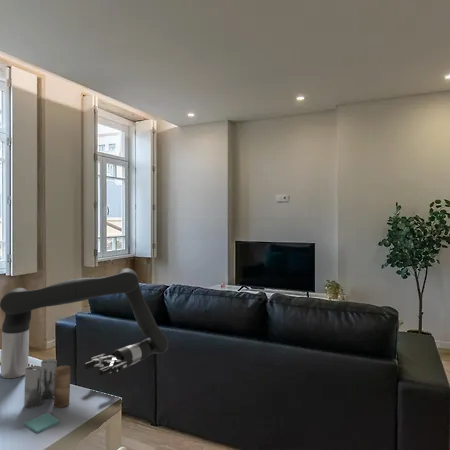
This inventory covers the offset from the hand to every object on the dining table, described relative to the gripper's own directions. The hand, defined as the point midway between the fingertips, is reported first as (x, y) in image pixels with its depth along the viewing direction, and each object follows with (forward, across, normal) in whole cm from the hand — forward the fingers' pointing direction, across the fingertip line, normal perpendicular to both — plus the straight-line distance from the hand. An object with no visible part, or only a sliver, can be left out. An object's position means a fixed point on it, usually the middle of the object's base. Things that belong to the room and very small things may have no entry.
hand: (91, 369), depth 131 cm
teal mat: (+22, +6, +8) cm, 24 cm away
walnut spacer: (+12, 0, +8) cm, 14 cm away
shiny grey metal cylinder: (+11, -9, +8) cm, 16 cm away
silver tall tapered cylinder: (+18, -7, +8) cm, 20 cm away
